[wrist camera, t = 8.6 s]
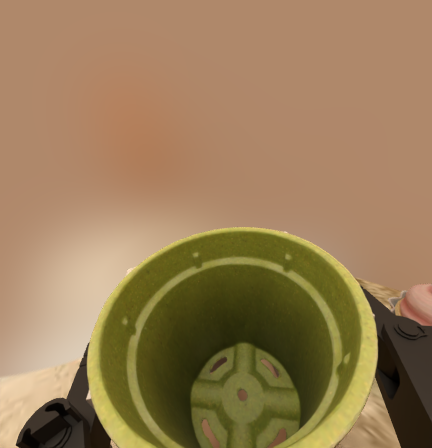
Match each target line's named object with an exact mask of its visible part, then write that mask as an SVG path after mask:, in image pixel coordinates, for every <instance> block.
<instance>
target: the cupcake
mask: <svg viewBox="0 0 432 448" xmlns="http://www.w3.org/2000/svg"><path fill="white" fill-rule="evenodd" d="M388 300H389V303H390V306H391V308H392V309H391V310H390V311H391V312H392V313H394V314H395V315H398V316H403V317H407V318H410V319H412V320H414V321H416V322H418V323H419V324H421V325H424V326H432V284H420V285H415V286H413V287H411V288H410V289H409V290H408V291H402V292H401V295H400V297H393V298H388Z"/></svg>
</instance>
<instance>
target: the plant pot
mask: <svg viewBox="0 0 432 448" xmlns="http://www.w3.org/2000/svg"><path fill="white" fill-rule="evenodd" d="M222 358H227V362H226V363H224V364H223V365H221V366H220V367H219V368H217V369H216V371H213V373H212V374H210V373H211V369H212V367H213V366H214V364H215V363H216V362H217V361H219V360H220V359H222ZM263 359H265V360H267V361H268V362H269V363H271V364H272V365H273V366H274V367H275V368H276V370H277V371H278V374H279V377H278V378H276V377H275V376H274V375H273V373H272V372H271V371H270V369H269V368H268V367H267V366H266V365H264V364H263V363H262V362H261V360H263ZM377 360H378V339H377V330H376V324H375V320H374V316H373V313H372V310H371V307H370V305H369V303H368V301H367V299H366V297H365V295H364V293H363V290H362V289H361V287H360V285H359V283H358V282H357V281H356V280H355V278H354V277H353V276H352V275H351V273H350V272H349V271H348V270H347V269H346V268H345V267H344V266H343V265H342V264H341V263H340V262H339V261H337V260H336V259H335V258H334V257H332V256H331V255H330V254H328V253H327V252H326V251H324V250H323V249H321V248H319V247H318V246H316V245H314V244H313V243H311V242H309V241H307V240H304V239H302V238H299V237H297V236H294V235H291V234H288V233H285V232H281V231H276V230H270V229H264V228H252V227H245V228H244V227H243V228H242V227H241V228H240V227H237V228H225V229H217V230H212V231H207V232H203V233H199V234H195V235H193V236H189V237H187V238H184V239H181V240H178V241H176V242H174V243H172V244H170V245H168V246H166V247H164V248H162V249H161V250H160V251H158V252H156V253H154V254H152V255H151V256H150V257H148V258H147V259H145V260H144V261H143V262H142V263H140V264H139V265H138V266H137V267H136V268H134V269H133V270H132V271H131V272H130V273H129V274H128V275H127V276H126V277H125V278H124V279H123V280H122V281H121V282H120V283H119V284H118V286H117V287H116V288H115V289H114V291H113V292H112V293H111V295H110V296H109V297H108V299H107V301H106V303H105V305H104V306H103V308H102V310H101V312H100V314H99V317H98V320H97V322H96V325H95V327H94V330H93V332H92V336H91V340H90V343H89V348H88V356H87V376H88V383H89V390H90V395H91V399H92V403H93V406H94V409H95V411H96V414H97V416H98V418H99V420H100V422H101V424H102V426H103V427H104V429H105V431H106V432H107V434H108V435H109V437H110V438H111V439H112V440H113V442H114V443H115V444H116V446H117V447H118V448H213V446H212V444H211V442H210V440H209V438H208V437H207V436H206V435H205V434H204V431H203V427H202V422H203V420H204V419H206V420H207V422H208V425H209V426H210V429H211V431H212V433H213V434H214V436H215V438H216V439H217V440H218V441H219V443H220V447H219V448H267V447H269V446H270V444H272V443H273V441H274V440H275V439H276V437H277V436H278V434H279V431H280V430H281V429H283V428H284V429H285V430H286V440H285V441H284V442H282V443H280V444H278V445H276V446H274V447H272V448H335V447H336V446H337V445H338V444H339V443H340V442H341V440H342V439H343V438H344V437H345V436H346V435H347V433H348V432H349V431H350V430H351V428H352V427H353V425H354V423H355V422H356V420H357V419H358V417H359V415H360V413H361V412H362V410H363V408H364V406H365V404H366V402H367V399H368V397H369V394H370V391H371V389H372V385H373V382H374V378H375V373H376V367H377ZM240 390H244V391H245V392H246V394H247V398H246V400H244V401H241V400H240V398H239V397H238V392H239V391H240Z"/></svg>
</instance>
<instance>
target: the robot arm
mask: <svg viewBox="0 0 432 448" xmlns="http://www.w3.org/2000/svg"><path fill="white" fill-rule="evenodd" d="M285 233H287V232H286V231H285ZM135 268H136V267H135ZM133 269H134V268H130V269H128V271H127V274H126V276H127V275H128V274H129V273H130V272H131V271H132V270H133ZM359 285H360V284H359ZM360 287H361V289H362V290H363V293H364V295H365V297H366V299H367V301H368V303H369V305H370V307H371V310H372V313H373V316H374V320H375V324H376V330H377V339H378V360H377V367H376V373H375V378H376V381H377V383H378V386H379V389H380V391H381V394H382V397H383V400H384V402H385V405H386V408H387V410H388V413H389V416H390V418H391V421H392V424H393V427H394V429H395V432H396V435H397V437H398V440H399V443H400V445H401V448H432V326H424V325H421V324H419V323H418V322H416V321H414V320H412V319H410V318H407V317H403V316H398V315H395V314H394V313H392V312H391V311H390V310H389V309H388V308H387V307H385V306H384V305H383V304H382V303H381V302H380V301H378V300H377V299H376V298H375V297H374V296H373V295H371V294H370V293H369V292H368V291H367V290H366V289H363V287H362V286H361V285H360ZM89 343H90V342H89ZM89 343H88V345H87V348H86V351H85V353H84V358H82V361H81V363H80V368H79V369H78V371H77V373H76V376H75V378H74V381H73V383H72V386H71V389H70V391H69V394H68V396H67V399H64V398H56V399H53V400H51V401H49V402H47V403H45V404H44V405H43V406H42V407H41V408H39V409H38V410H37V411H36V412H35V413H34V414H33V415H32V416H31V417H30V419H29V420H28V421H27V422H26V424H25V425H24V427H23V429H22V430H21V432H20V434H19V436H18V439H17V443H16V446H18V447H19V448H112V446H111V444H110V442H111V438H110V437H109V435H108V434H107V432H106V431H105V429H104V427H103V426H102V424H101V422H100V420H99V418H98V416H97V414H96V411H95V409H94V406H93V403H92V399H91V395H90V390H89V383H88V376H87V356H88V348H89Z"/></svg>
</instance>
